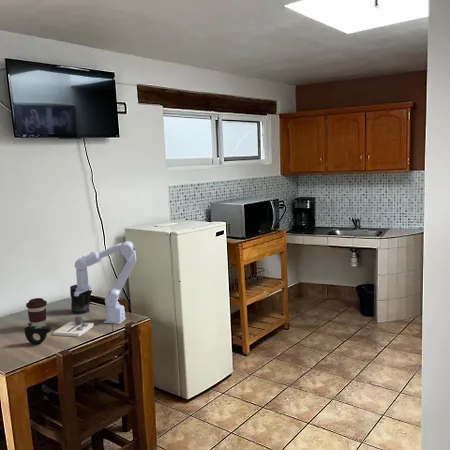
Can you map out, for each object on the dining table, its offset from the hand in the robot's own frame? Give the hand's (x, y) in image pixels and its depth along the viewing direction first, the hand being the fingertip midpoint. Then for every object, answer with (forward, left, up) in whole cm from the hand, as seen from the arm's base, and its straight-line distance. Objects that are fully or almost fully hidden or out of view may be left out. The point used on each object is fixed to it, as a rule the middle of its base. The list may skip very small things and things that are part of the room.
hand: (84, 305), depth 244 cm
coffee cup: (+21, +10, -10) cm, 25 cm away
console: (0, +11, -9) cm, 15 cm away
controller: (+8, +29, -10) cm, 32 cm away
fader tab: (0, +7, -8) cm, 10 cm away
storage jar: (+12, -17, -10) cm, 23 cm away
